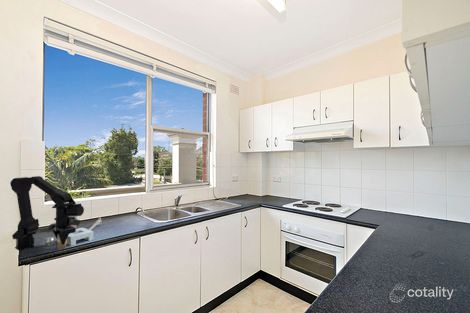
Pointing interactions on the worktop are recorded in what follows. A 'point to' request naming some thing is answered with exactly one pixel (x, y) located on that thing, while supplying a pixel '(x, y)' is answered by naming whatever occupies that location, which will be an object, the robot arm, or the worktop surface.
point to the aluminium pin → (49, 241)
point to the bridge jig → (79, 236)
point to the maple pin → (60, 244)
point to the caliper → (96, 223)
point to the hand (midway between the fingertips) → (61, 243)
